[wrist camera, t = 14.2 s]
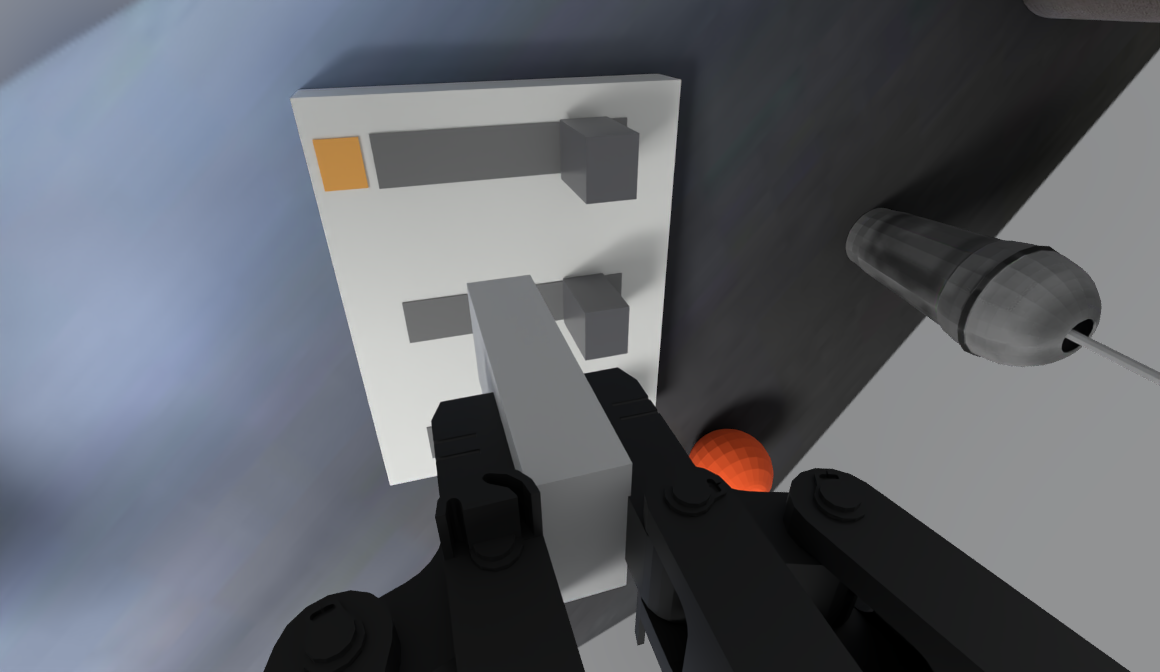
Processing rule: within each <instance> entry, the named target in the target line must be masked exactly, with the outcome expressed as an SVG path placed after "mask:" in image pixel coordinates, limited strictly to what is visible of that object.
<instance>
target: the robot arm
mask: <svg viewBox="0 0 1160 672" xmlns="http://www.w3.org/2000/svg"><path fill="white" fill-rule="evenodd" d="M466 284H467V292H468V299H469V307H470V315H471V322H472V330H473V338H474V346H475V353H476V361H477V369H478V377H479V382H480V386H481V390H482V394H480V395H474V396H469V397H464V398H458V399H453V400H447V401H442V402H440V404H439V406H438V408H437V410H436V412H435V414H434V416H433V418H432V420H431V425H432V434H433V442H434V451H435V459H436V469H437V477H438V486H439V495H440V498H439V499H438V501H437V508H436V514H435V519H436V523H437V528H438V533H439V537H440V542H441V543H440V546H439V549H438V551H437V552H436V554H435V556H434V557H433V559H432V560H431V562H430V563H429V564H428V565H427V566H426V567H425V568H424V569H423V570H422V571H421V572H420V573H419V574H417V575H416V576H415V577H413V578H412V579H410V580H409V581H407V582H406V583H404V584H403V585H401V586H399V587H397V588H395V589H394V590H392V591H390V592H388V593H387V594H385V595H383V596H381V597H380V598H377V597H376V596H374V595H373V594H371V593H368V592H360V591H352V590H350V591H345V592H341V593H336V594H332V595H328V596H326V597H324V598H322V599H321V600H319V601H317V602H315V603H313V604H311V605H309V606H308V607H306V608H305V609H304V610H303V611H302V612H301V613H300V614H299V615H297V616H296V617H295V618H294V619H293V620H292V621H291V622H290V623H289V624H288V625H287V626H286V628H285V629H284V631H283V633H282V634H281V636H280V638H279V639H278V641H277V643H276V644H275V646H274V648H273V650H272V653H271V655H270V657H269V660H268V662H267V665H266V667H265V669H264V672H585V670H584V667H583V664H582V661H581V658H580V654H579V651H578V647H577V644H576V641H575V638H574V634H573V631H572V628H571V624H570V621H569V618H568V615H567V611H566V608H565V605H564V603H565V602H569V601H572V600H576V599H579V598H583V597H586V596H590V595H593V594H597V593H600V592H604V591H607V590H611V589H614V588H618V587H621V586H624V585H626V578H627V565H628V567H629V570H630V572H631V574H632V577H633V579H634V581H635V583H636V586H637V588H638V595H637V609H636V625H635V634H636V640H637V644H638V645H640V644H644V638H645V631H646V633H647V636H648V639H649V641H650V644H651V646H652V648H653V651H654V653H655V655H656V658H657V660H658V663H659V665H660V668H661V670H662V672H1130V671H1129V670H1127V669H1126V668H1125V667H1123V666H1122V665H1120V664H1119V663H1118V662H1116V661H1115V660H1113V659H1112V658H1111V657H1109V656H1108V655H1106V654H1105V653H1104V652H1102V651H1101V650H1099V649H1098V648H1096V647H1095V646H1094V645H1092V644H1091V643H1090V642H1088V641H1086V640H1085V639H1084V638H1083V637H1081V636H1080V635H1078V634H1077V633H1076V632H1074V631H1073V630H1071V629H1070V628H1069V627H1067V626H1066V625H1064V624H1063V623H1062V622H1060V621H1059V620H1057V619H1056V618H1055V617H1053V616H1052V615H1050V614H1049V613H1047V612H1046V611H1045V610H1043V609H1042V608H1041V607H1039V606H1038V605H1036V604H1035V603H1034V602H1032V601H1031V600H1030V599H1028V598H1027V597H1025V596H1024V595H1022V594H1021V593H1020V592H1018V591H1017V590H1016V589H1014V588H1013V587H1011V586H1010V585H1009V584H1007V583H1006V582H1004V581H1003V580H1002V579H1000V578H999V577H997V576H996V575H994V574H993V573H992V572H990V571H989V570H987V569H986V568H985V567H983V566H982V565H981V564H979V563H978V562H976V561H975V560H974V559H972V558H971V557H969V556H968V555H967V554H965V553H964V552H962V551H961V550H960V549H958V548H957V547H955V546H954V545H953V544H951V543H950V542H948V541H947V540H946V539H944V538H943V537H941V536H940V535H939V534H937V533H936V532H934V531H933V530H932V529H930V528H929V527H927V526H926V525H925V524H923V523H922V522H921V521H919V520H918V519H916V518H915V517H913V516H912V515H911V514H909V513H908V512H907V511H905V510H904V509H902V508H901V507H900V506H898V505H897V504H895V503H894V502H893V501H891V500H890V499H888V498H887V497H886V496H884V495H883V494H881V493H880V492H878V491H877V490H876V489H874V488H873V487H872V486H870V485H869V484H867V483H866V482H864V481H862V480H860V479H858V478H857V477H855V476H853V475H851V474H848V473H844V472H841V471H838V470H834V469H820V468H815V469H811V470H808V471H805V472H801V473H800V474H799V475H798V476H797V477H796V478H795V479H794V480H792V483H791V487H790V491H789V493H787V492H757V491H744V490H736V489H733V488H731V487H730V486H729V485H728V484H727V483H726V482H725V481H724V480H723V479H722V478H721V477H720V476H719V475H717V474H715V473H713V472H711V471H709V470H707V469H705V468H701V467H696V466H695V465H694V463H693V462H692V460H691V459H690V457H689V456H688V455H687V453H686V452H685V450H684V449H683V447H682V446H681V444H680V443H679V441H678V440H677V438H676V437H675V435H674V434H673V432H672V431H671V429H670V428H669V426H668V425H667V423H666V422H665V420H664V419H663V417H662V416H661V414H660V413H658V412H657V409H656V407H655V406H654V404H653V403H652V401H651V400H649V399H648V395H647V394H646V392H645V391H644V389H643V388H642V386H641V385H640V383H639V382H638V380H637V379H635V378H634V377H632V376H631V375H629V374H627V373H626V372H624V371H623V370H621V369H620V368H618V367H616V368H611V369H605V370H600V371H595V372H589V373H583V371H582V369H581V368H580V366H579V364H578V362H577V360H576V358H575V357H574V355H573V353H572V351H571V349H570V347H569V345H568V344H567V342H566V340H565V338H564V336H563V334H562V333H561V331H560V329H559V327H558V325H557V323H556V321H555V320H554V318H553V316H552V314H551V312H550V310H549V309H548V307H547V305H546V303H545V301H544V299H543V297H542V296H541V294H540V292H539V290H538V288H537V286H536V285H535V283H534V281H533V279H532V277H531V275H523V276H516V277H508V278H501V279H493V280H486V281H479V282H471V283H466Z"/></svg>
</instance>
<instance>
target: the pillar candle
mask: <svg viewBox="0 0 1160 672" xmlns="http://www.w3.org/2000/svg"><path fill="white" fill-rule="evenodd" d="M1023 1H1024V4H1025V5H1026V6H1027V8H1028V9H1029V10H1030V11H1032V12H1033V13H1034V14H1036V15H1038V16H1041V17H1045V18H1058V19H1085V20H1111V21H1134V22H1160V0H1023Z"/></svg>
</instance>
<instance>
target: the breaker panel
mask: <svg viewBox="0 0 1160 672" xmlns="http://www.w3.org/2000/svg"><path fill="white" fill-rule="evenodd" d="M680 89H681V79H677V78H673V77H669V76H665V75H662V74H638V75H616V76H593V77H570V78H548V79H525V80H502V81H480V82H457V83H435V84H412V85H389V86H367V87H344V88H321V89H299V90H298V91H297V92H296V93H295V94H294V95H293V96H292V97H291V98H290V101H291V105H292V108H293V112H294V116H295V120H296V124H297V128H298V132H299V135H300V139H301V143H302V147H303V151H304V155H305V159H306V162H307V166H308V170H309V174H310V178H311V182H312V186H313V189H314V193H315V197H316V201H317V205H318V209H319V213H320V216H321V220H322V224H323V228H324V232H325V236H326V240H327V244H328V247H329V251H330V255H331V259H332V263H333V267H334V271H335V274H336V278H337V282H338V286H339V290H340V294H341V298H342V301H343V305H344V309H345V313H346V317H347V321H348V325H349V328H350V332H351V336H352V340H353V344H354V348H355V352H356V355H357V359H358V363H359V367H360V371H361V375H362V379H363V382H364V386H365V390H366V394H367V398H368V402H369V406H370V409H371V413H372V417H373V421H374V425H375V429H376V433H377V436H378V440H379V444H380V448H381V452H382V456H383V460H384V463H385V467H386V471H387V475H388V479H389V483H390V486H391V485H395V484H400V483H405V482H409V481H414V480H419V479H424V478H428V477H433V476H437V469H436V459H435V451H434V442H433V434H432V425H431V420H432V418H433V416H434V414H435V412H436V410H437V408H438V406H439V404H440V402H442V401H447V400H453V399H458V398H464V397H469V396H474V395H480V394H482V390H481V386H480V382H479V377H478V369H477V361H476V353H475V346H474V338H473V330H472V322H471V315H470V307H469V299H468V292H467V284H466V283H471V282H479V281H486V280H493V279H501V278H508V277H516V276H523V275H531V277H532V279H533V281H534V283H535V285H536V286H537V288H538V290H539V292H540V294H541V296H542V297H543V299H544V301H545V303H546V305H547V307H548V309H549V310H550V312H551V314H552V316H553V318H554V320H555V321H556V323H557V325H558V327H559V329H560V331H561V333H562V334H563V336H564V338H565V340H566V342H567V344H568V345H569V347H570V349H571V351H572V353H573V355H574V357H575V358H576V360H577V362H578V364H579V366H580V368H581V369H582V371H583V373H589V372H595V371H600V370H605V369H611V368H616V367H618V368H620V369H621V370H623V371H624V372H626V373H627V374H629V375H631V376H632V377H634V378H635V379H637V380H638V382H639V383H640V385H641V386H642V388H643V389H644V391H645V392H646V394H647V395H648V399H649V400H651V401H652V403H653V404H654V406H655V404H656V392H657V379H658V367H659V354H660V341H661V329H662V316H663V304H664V291H665V278H666V266H667V253H668V240H669V228H670V215H671V203H672V190H673V177H674V165H675V152H676V140H677V127H678V114H679V102H680ZM603 116H607V117H609V118H611V119H613V120H615V121H617V122H619V123H621V124H623V125H625V126H626V127H628V128H630V129H632V130H634V131H636V132H638V133H640V135H639V157H638V179H637V199H633V200H623V201H614V202H604V203H594V204H586V203H585V202H584V201H583V200H582V199H581V198H580V197H579V196H578V195H577V194H576V193H575V192H574V191H573V190H572V189H571V188H570V187H569V186H568V185H567V184H566V183H565V182H564V181H563V180H562V179H561V152H560V119H572V118H588V117H603Z"/></svg>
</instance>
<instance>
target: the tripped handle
mask: <svg viewBox="0 0 1160 672" xmlns="http://www.w3.org/2000/svg"><path fill="white" fill-rule="evenodd" d="M639 135H640V133H638V132H636V131H634V130H632V129H630V128H628V127H626V126H625V125H623V124H621V123H619V122H617V121H615V120H613V119H611V118H609V117H607V116H603V117H588V118H572V119H560V152H561V179H562V180H563V181H564V182H565V183H566V184H567V185H568V186H569V187H570V188H571V189H572V190H573V191H574V192H575V193H576V194H577V195H578V196H579V197H580V198H581V199H582V200H583V201H584V202H585V203H586V204H594V203H604V202H614V201H623V200H633V199H637V179H638V157H639Z"/></svg>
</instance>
